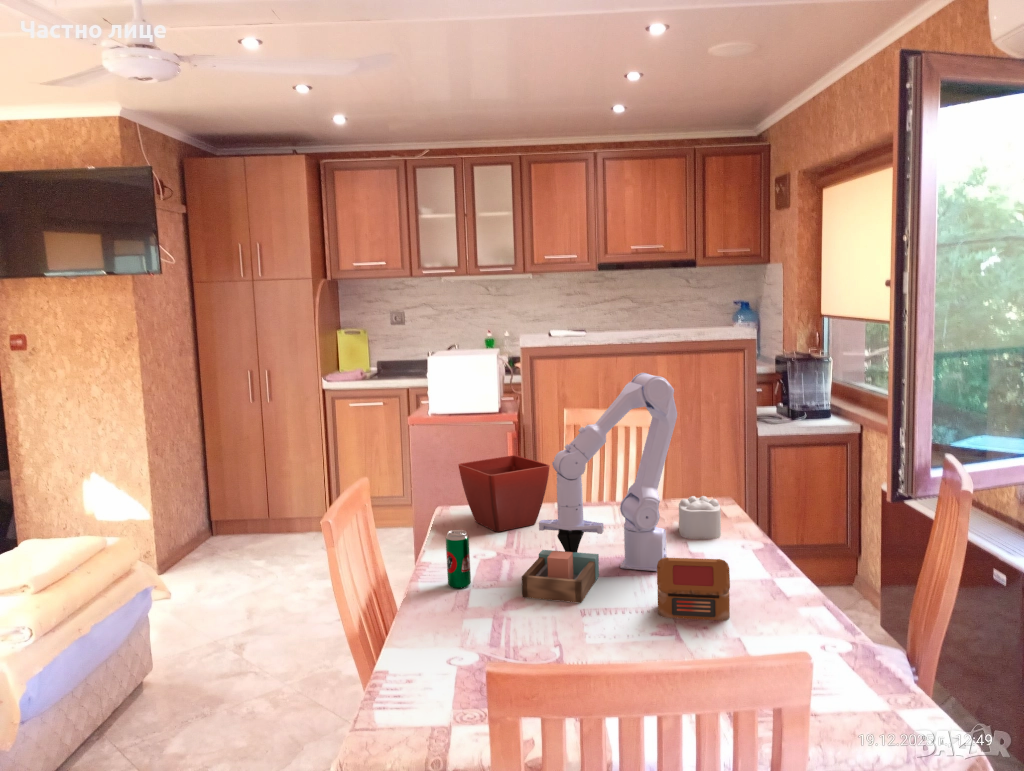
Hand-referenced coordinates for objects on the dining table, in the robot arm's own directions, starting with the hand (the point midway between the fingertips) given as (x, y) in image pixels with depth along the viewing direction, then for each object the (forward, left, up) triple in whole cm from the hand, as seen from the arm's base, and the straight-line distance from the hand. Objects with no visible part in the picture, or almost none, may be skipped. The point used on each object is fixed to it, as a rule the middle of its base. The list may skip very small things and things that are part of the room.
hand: (572, 561), depth 173 cm
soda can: (+22, +14, -3) cm, 26 cm away
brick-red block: (0, +10, -1) cm, 10 cm away
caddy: (0, +10, -2) cm, 10 cm away
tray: (0, +9, -2) cm, 9 cm away
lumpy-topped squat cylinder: (-24, -37, -3) cm, 44 cm away
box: (-29, +16, -3) cm, 33 cm away
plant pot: (+28, -32, -3) cm, 43 cm away
